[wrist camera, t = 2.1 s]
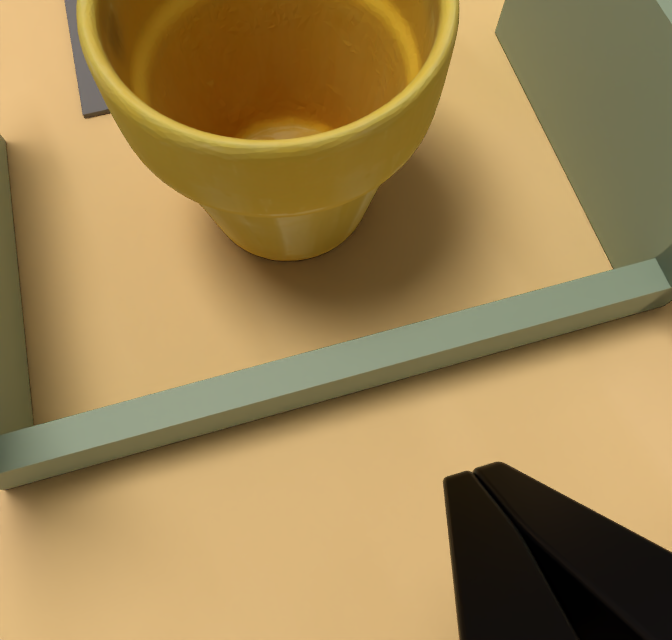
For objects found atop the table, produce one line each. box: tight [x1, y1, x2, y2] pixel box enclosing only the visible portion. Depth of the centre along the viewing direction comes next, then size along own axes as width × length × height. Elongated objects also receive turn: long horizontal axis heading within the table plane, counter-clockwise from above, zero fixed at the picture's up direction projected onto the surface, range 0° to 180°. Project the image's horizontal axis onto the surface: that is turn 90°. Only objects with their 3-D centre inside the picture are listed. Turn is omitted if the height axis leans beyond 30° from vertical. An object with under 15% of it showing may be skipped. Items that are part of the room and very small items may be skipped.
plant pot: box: [76, 0, 459, 261], centre depth 20 cm, size 10×10×10 cm
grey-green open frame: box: [0, 0, 672, 490], centre depth 18 cm, size 15×25×12 cm, turn 106°
